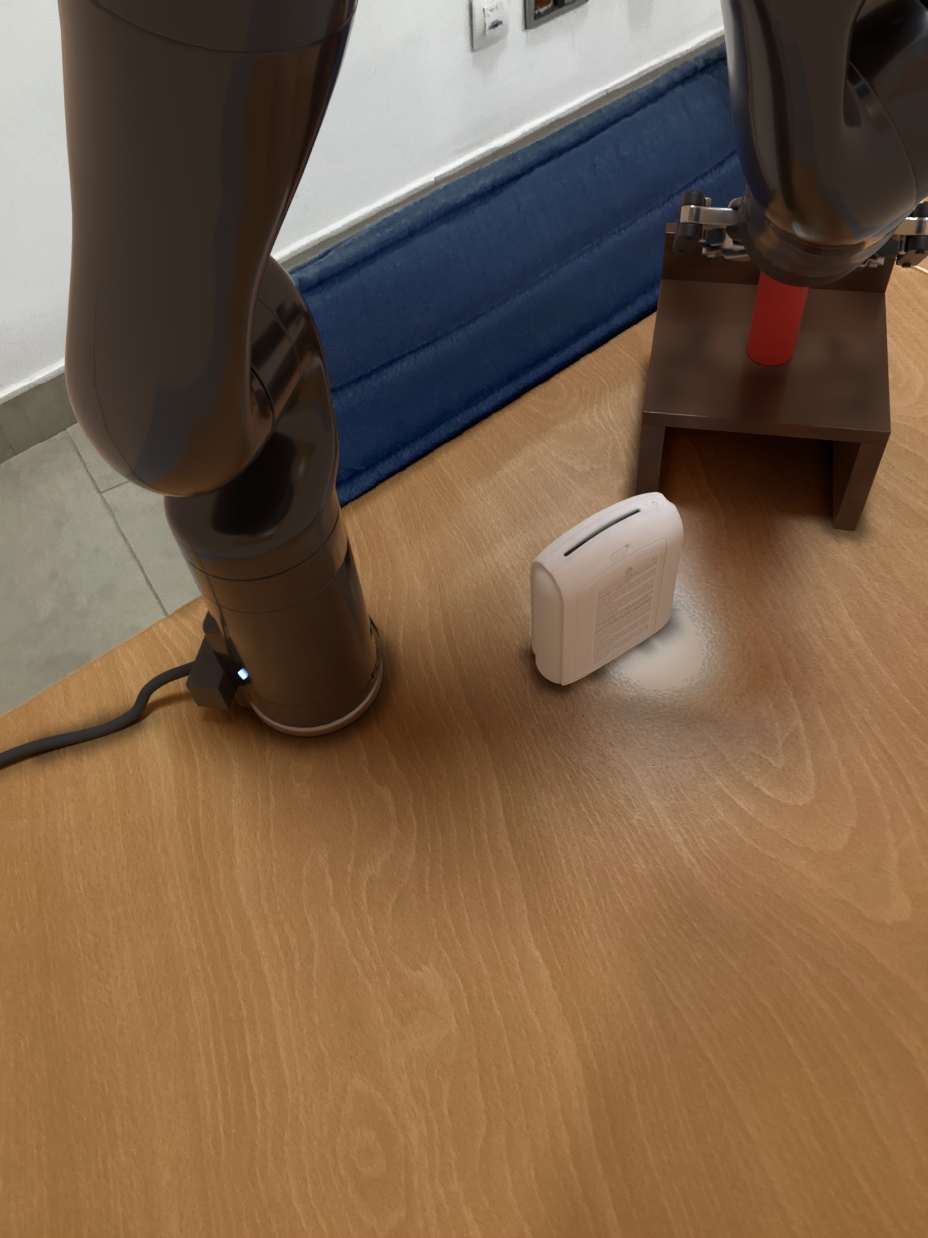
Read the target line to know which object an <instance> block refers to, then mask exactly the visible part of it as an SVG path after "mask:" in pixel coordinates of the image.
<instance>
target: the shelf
mask: <svg viewBox="0 0 928 1238" xmlns="http://www.w3.org/2000/svg"><path fill="white" fill-rule="evenodd" d="M675 230H676V222H667V223H666V226H665V236H664V247H663V254H662V256H663V257H662V267H661V276H660V277H661V278H660V285H659V292H658V300H657V307H656V315H655V321H654V326H653V328H654V329H653V334H652V335H653V336H652V342H651V348H650V349H651V350H650V356H649V362H648V363H649V364H648V371H647V378H646V384H645V385H646V386H645V393H644V399H643V400H644V401H643V406H642V416H641V426H640V427H641V428H640V437H639V447H638V461H637V469H636V483H635V493H634V496H637V495H641V494H645V493H652V492H659V486H660V477H661V469H662V460H663V453H664V443H665V438H666V437H665V435H666V427H671V428H672V427H673V428H682V429H692V430H693V429H695V430H706V431H717V432H728V433H729V432H730V433H742V434H752V435H753V434H754V435H765V436H775V437H777V436H778V437H787V438H788V437H789V438H801V439H811V440H812V439H813V440H823V441H832V528H833V529H839V530H847V531H849V530H850V531H856V530H857V529H858V525H859V522H860V519H861V517H862V515H863V512H864V509H865V506H866V503H867V500H868V498H869V495H870V492H871V489H872V487H873V485H874V481H875V478H876V476H877V472H878V469H879V467H880V465H881V461H882V459H883V456H884V453H885V451H886V447H887V445H888V442H889V438H890V436H891V434H892V423H891V422H892V420H891V399H890V373H889V352H888V349H889V347H888V346H889V345H888V325H887V324H888V323H887V304H886V299H887V298H886V292H887V289H888V285H889V283H890V279H891V276H892V272H893V270H894V269H893V268H894V266H895V264H896V259H897V257H890V258H884V264H883V265H882V266H877V267H876V268H870V267H868V266H866V267H865V268H864V269H862V270H861V271H860V272H850V273H849V274H848V275H846V276H844V277H843V278H841V279H839V280H836V281H834V282H832V283H829V284H825V285H821V286H815V287H809V289H808V293H807V297H806V302H805V306H804V310H803V314H802V319H801V323H800V327H799V331H798V336H797V340H796V344H795V349H794V353H793V356H792V357H791V359H790V360H789V361H787V362H786V363H784V364H781V365H776V366H767V365H762V364H759V363H757V362H755V361H754V360H752V359H751V358H750V357H749V355H748V353H747V350H746V347H747V342H748V336H749V331H750V326H751V320H752V315H753V310H754V304H755V299H756V294H757V288H758V283H759V278H760V272H761V270H760V269H759V268H758V267H757V266H756V265H755V264H754V263H753V262H752V261H745V262H740V261H735V260H729V259H725V258H724V260H723V263H722V264H717V263H711V262H712V258H707V256H704V255H702V247H698V246H695V248H694V250H693V252H692V253H686V255H679V254H678V253H676V252H673V251H672V249H673V242H674V238H675Z"/></svg>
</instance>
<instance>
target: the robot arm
mask: <svg viewBox="0 0 928 1238" xmlns="http://www.w3.org/2000/svg"><path fill="white" fill-rule="evenodd" d="M56 2H57V6H58V7H57V10H58V19H59V27H60V28H59V29H60V44H61V45H60V46H61V62H62V63H61V65H62V84H63V85H62V86H63V102H64V105H63V106H64V120H65V136H66V150H67V152H66V153H67V163H68V172H69V174H68V175H69V190H70V205H71V251H70V255H71V256H70V271H69V272H70V275H69V289H68V301H67V302H68V304H67V320H66V332H65V333H66V334H65V345H64V380H65V387H66V391H67V392H66V393H67V397H68V400H69V403H70V406H71V409H72V412H73V414H74V417H75V419H76V421H77V423H78V425H79V427H80V429H81V431H82V433H83V434H84V436H85V437H86V439H87V440H88V442H89V443H90V444H91V446H92V447H93V448H94V450H95V451H96V453H98V455H99V456H100V458H101V459H103V460H104V461H105V463H106V464H107V465H108V466H109V467H110V468H112V469H113V470H114V471H115V472H117V474H118V475H120V476H121V477H123V478H124V479H125V480H127V481H129V483H132V484H133V485H136V486H137V487H140V488H142V489H143V490H145V491H148V492H150V493H154V494H157V495H160V496H163V509H164V513H165V514H164V516H165V519H166V522H167V524H168V527H169V530H170V532H171V534H172V536H173V539H174V541H175V543H176V545H177V547H178V549H179V551H180V554H181V555H182V557H183V560H184V561H185V564H186V566H187V568H188V570H189V572H190V575H191V577H192V578H193V579H192V580H193V581H194V583H195V585H196V587H197V589H198V591H199V593H200V595H201V597H202V599H203V602H204V604H205V606H206V609H207V611H206V613H205V615H204V618H203V621H202V625H201V628H202V629H201V630H202V633H203V634H204V635H203V639H202V641H201V644H200V646H199V649H198V651H197V654H196V657H195V659H194V660H192V661H189V662H188V663H184V664H182V665H179V666H176V667H173V668H170V669H167V670H165V671H163V672H160V673H159V674H158V675H155V676H154V677H152V678H151V679H150V680H149V681H147V682H146V683H145V684H144V685H143V686H142V687H141V689H140V690H139V692H138V694H137V696H136V699H135V702H134V704H133V705H132V707H131V708H130V709H128V710H127V711H126V712H124V713H123V714H120V715H119V716H118V717H116V718H113V719H112V720H109V721H107V722H105V723H102V724H99V725H96V726H92V727H89V728H83V729H79V730H75V731H71V732H65V733H61V734H56V735H52V736H47V737H42V738H39V739H36V740H32V741H29V742H25V743H23V744H20V745H17V746H15V747H11V748H8V749H6V750H4V751H2V752H0V767H1V766H4V765H6V764H8V763H11V762H14V761H16V760H18V759H21V758H24V757H27V756H30V755H33V754H36V753H40V752H42V751H47V750H50V749H51V750H52V749H56V748H59V747H64V746H69V745H74V744H79V743H83V742H87V741H91V740H95V739H99V738H102V737H105V736H108V735H110V734H113V733H115V732H118V731H119V730H121V729H123V728H125V727H127V726H128V725H130V724H131V723H133V722H134V721H136V720H137V719H139V718H140V717H141V715H142V714H143V713H144V711H145V710H146V708H147V706H148V704H149V701H150V699H151V697H152V695H153V694H154V693H156V691H158V690H159V689H160V688H162V687H164V686H166V685H167V684H169V683H171V682H174V681H177V680H179V679H182V678H185V677H187V679H186V682H185V687H186V688H187V690H188V692H189V694H190V696H191V698H192V699H193V701H194V703H195V704H196V707H202V708H209V709H215V710H224V711H230V709H231V707H232V703H233V701H234V698H235V700H236V701H237V703H238V705H239V707H242V708H246V709H247V708H248V709H252V710H253V711H254V713H255V714H256V715H257V717H258V718H259V719H260V720H261V721H262V722H263V723H264V724H266V725H267V726H269V727H270V728H272V729H274V730H276V731H278V732H280V733H283V734H286V735H291V736H295V737H316V736H317V737H318V736H322V735H326V734H331V733H334V732H336V731H339V730H341V729H344V728H345V727H347V726H349V725H351V723H353V722H355V721H356V720H358V719H359V718H360V717H361V716H362V715H363V714H364V713H365V712H366V711H367V710H368V709H369V708H370V707H371V705H372V704H373V702H374V700H375V699H376V697H377V696H378V693H379V691H380V688H381V685H382V682H383V681H382V680H383V675H384V674H383V673H384V671H383V670H384V669H383V660H382V656H381V652H380V648H379V646H378V644H377V641H376V639H375V635H374V631H375V633H376V634H377V637H378V638H379V639H381V637H380V632H379V629H378V627H377V625H376V624H375V622H374V621H373V619H372V617H371V615H370V614H369V611H368V608H367V607H368V606H367V604H366V600H365V597H364V592H363V589H362V584H361V581H360V577H359V572H358V568H357V565H356V560H355V557H354V554H353V550H352V546H351V542H350V539H349V534H348V530H347V527H346V523H345V519H344V515H343V512H342V511H343V510H342V508H341V507H342V506H341V503H340V499H339V496H338V495H339V494H338V491H337V488H336V481H337V474H338V469H339V463H340V437H339V431H338V425H337V418H336V413H335V407H334V406H335V405H334V401H333V396H332V390H331V385H330V379H329V373H328V368H327V362H326V357H325V352H324V348H323V344H322V340H321V336H320V333H319V329H318V326H317V323H316V321H315V318H314V316H313V312H312V311H311V308H310V306H309V304H308V302H307V300H306V298H305V297H304V295H303V292H302V291H301V290H300V288H299V286H298V284H297V283H296V282H295V280H294V279H293V277H292V276H291V274H290V273H289V272H288V271H287V270H286V269H285V268H284V267H283V266H282V265H281V263H280V262H278V260H277V259H276V258H274V256H272V255H271V254H272V251H273V248H274V246H275V244H276V241H277V238H278V237H279V234H280V231H281V229H282V226H283V224H284V222H285V220H286V217H287V215H288V212H289V209H290V207H291V205H292V202H293V200H294V197H295V195H296V193H297V190H298V188H299V186H300V183H301V181H302V178H303V176H304V174H305V170H306V168H307V165H308V162H309V160H310V158H311V155H312V152H313V149H314V146H315V144H316V141H317V138H318V136H319V134H320V130H321V129H322V125H323V123H324V121H325V118H326V115H327V111H328V109H329V106H330V104H331V101H332V99H333V95H334V92H335V89H336V86H337V85H338V80H339V78H340V75H341V71H342V68H343V64H344V61H345V59H346V54H347V50H348V47H349V43H350V39H351V35H352V32H353V27H354V24H355V20H356V19H355V18H356V14H357V10H358V5H359V0H57V1H56ZM719 3H720V8H721V15H722V23H723V30H724V41H725V51H726V64H727V65H726V67H727V81H728V82H727V83H728V94H729V106H730V108H729V109H730V118H731V124H732V132H733V137H734V143H735V149H736V154H737V157H738V161H739V165H740V168H741V172H742V175H743V177H744V180H745V183H746V185H745V187H744V190H743V193H742V196H740V197H735V198H733V199H731V200H730V202H729V204H728V205H727V207H714V206H711V204H712V197H706V193H705V192H702V191H700V190H699V189H690V190H688V191H684V192H683V193H682V195H681V197H680V201H679V203H678V206H677V209H676V215H675V219H676V221H675V223H676V230H675V238H674V242H673V249H672V251H673V252H676V253H678V254H679V255H686V253H692V252H693V250H694V248H695V246H698V247H702V255H704V256H707V258H712V262H711V263H717V264H722V263H723V260H724V258H725V259H729V260H735V261H740V262H745V261H752V262H753V263H754V264H755V265H756V266H757V267H758V268H759V269H760V270H761V271H762V272H763V273H764V274H766V275H767V276H769V277H770V278H772V279H774V280H776V281H778V282H780V283H783V284H786V285H790V286H795V287H815V286H821V285H825V284H829V283H832V282H834V281H836V280H839V279H841V278H843V277H844V276H846V275H848V274H849V273H850V272H860V271H861V270H862V269H864V268H865V267H866V266H868V267H870V268H876V267H877V266H882V265H883V264H884V258H890V257H896V260H895V265H896V266H900V267H901V268H902V269H911V267H917V266H918V265H919V264H920V263H921V262H922V261H925V259H926V258H927V257H928V200H925V199H927V198H928V0H719ZM924 200H925V201H924ZM922 201H923V202H922ZM373 630H374V631H373Z"/></svg>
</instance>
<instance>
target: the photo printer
mask: <svg viewBox="0 0 928 1238" xmlns="http://www.w3.org/2000/svg"><path fill="white" fill-rule="evenodd" d="M684 533H685V531H684V525H683V520H682V518H681V515H680V513H679V511H678V508H677V507H676V505H675V504H674V503H673V502H670V501H669V500H668V499H667V497H665V495H664V494H663V493H661V492H659V491H658V492H652V493H645V494H641V495H637V496H635V495H634V496H631V497H628V498H625V499H623V500H621V501H617V502H616V503H613V504H611V505H609V506H607V507H604V508H603V509H602V510H599V511H598V512H596V513H594V514H592V515H591V516H589V517H587V518H585V519H583V520H582V521H580V522H579V523H577V524H575V526H572V527H571V528H570V529H568V530H567V531H565V532H563V533H562V534H561V535H560V536H558V537H557V538H556V539H554V540H553V541H552V542H551V543H549V544H548V545H547V546H546V547H545V548H543V550H541V552H540V553H539V554H538V555H537V556H536V557H535V558H534V559H533V560H532V562H531V564H530V567H529V573H530V574H529V578H530V579H529V581H530V582H529V583H530V584H529V585H530V587H529V589H530V630H531V631H530V634H531V635H530V636H531V648H532V649H531V650H532V652H533V654H535V665H536V668H537V670H538V671H539V673H540V675H542V676H543V678H545V679H546V680H548V681H550V682H552V683H554V684H557V685H559V684H560V685H561V686H567V685H570V684H572V683H575V682H577V681H579V680H581V679H583V678H585V677H587V676H589V675H590V674H592V673H593V672H595V671H597V670H598V669H600V668H602V667H604V666H605V665H607V664H609V663H610V662H612V661H614V660H616V658H618V657H621V656H622V655H623V654H625V653H627V652H629V651H630V650H631V649H633V648H635V647H636V646H638V645H639V644H641V643H644V642H645V640H647V639H648V638H650V637H651V636H653V635H654V634H655V633H657V632H659V631H660V630H662V628H663V627H665V625H667V623H668V622H669V621H670V619H671V615H672V609H673V602H674V595H675V591H676V583H677V577H678V572H679V564H680V558H681V552H682V546H683V541H684Z"/></svg>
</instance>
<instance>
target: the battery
mask: <svg viewBox="0 0 928 1238" xmlns="http://www.w3.org/2000/svg"><path fill="white" fill-rule="evenodd" d="M808 289H809V287H795V286H790V285H786V284H783V283H780V282H778V281H776V280H774V279H772V278H770V277H769V276H767V275H766V274H764V273H763V272H762V271H761V272H760V278H759V283H758V288H757V294H756V299H755V304H754V310H753V315H752V320H751V326H750V331H749V336H748V342H747V347H746V350H747V353H748V355H749V357H750V358H751V359H752V360H754V361H755V362H757V363H759V364H762V365H767V366H776V365H781V364H784V363H786V362H787V361H789V360H790V359H791V357H792V356H793V353H794V349H795V344H796V340H797V336H798V331H799V327H800V323H801V319H802V314H803V310H804V306H805V302H806V297H807V293H808Z"/></svg>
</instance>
